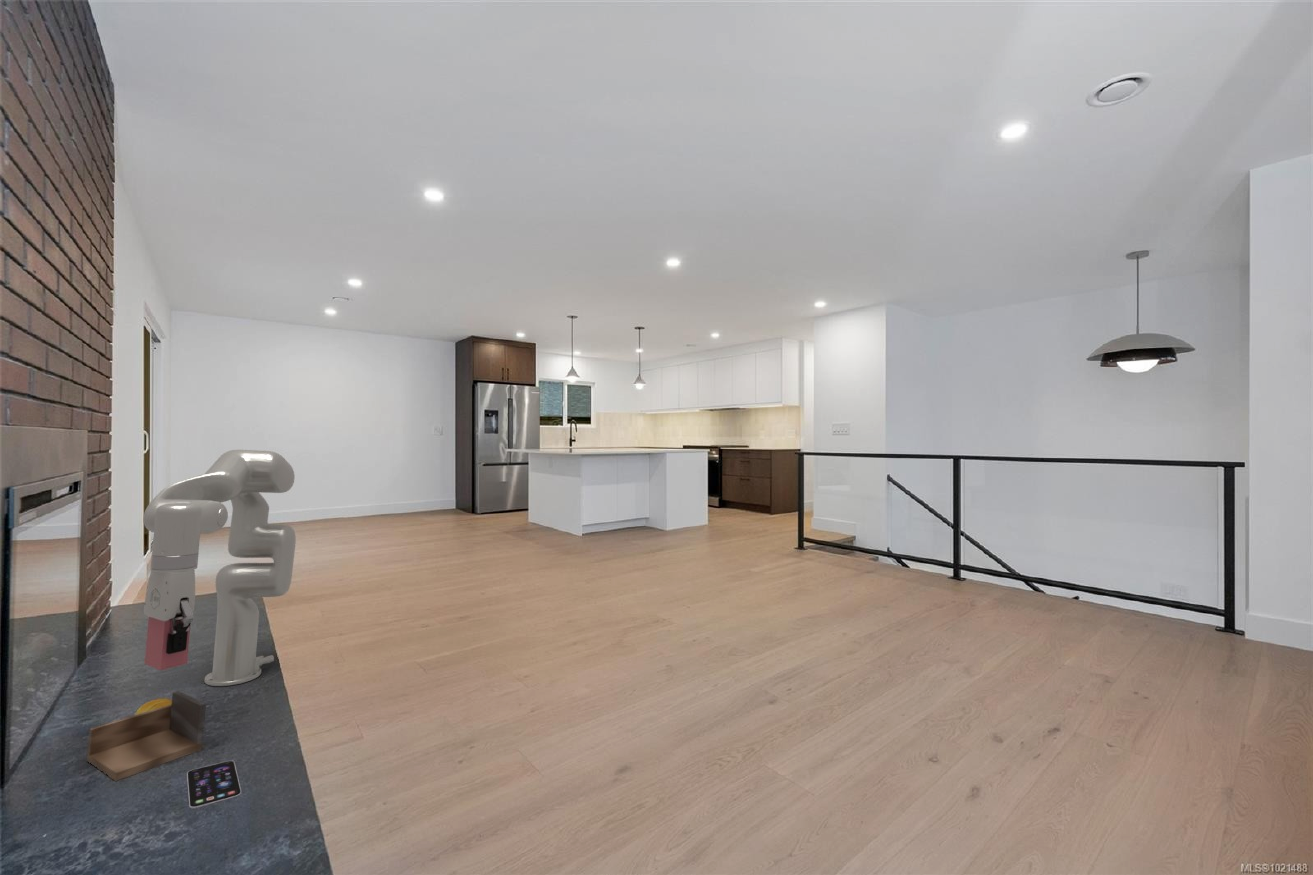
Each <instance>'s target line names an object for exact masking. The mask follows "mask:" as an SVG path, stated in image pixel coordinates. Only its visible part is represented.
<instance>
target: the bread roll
mask: <svg viewBox="0 0 1313 875" xmlns="http://www.w3.org/2000/svg"><path fill="white" fill-rule="evenodd" d="M171 704H172V699H169V698H165V697H163V698H156V699H153V700H150V701H147V702H145V703H144V704H142V705H141V706H140V707H139V708H138V709H137V710H136V712H135V713H134V715H137V714H141V713H144V712H148V711H151V710H154V709H158V708H161V707H164V706H168V705H171Z"/></svg>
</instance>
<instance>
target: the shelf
mask: <svg viewBox="0 0 1313 875" xmlns="http://www.w3.org/2000/svg"><path fill="white" fill-rule="evenodd" d="M171 700H172V704H171V705H168V706H164V707H161V708H158V709H154V710H151V711H148V712H144V713H141V714H137V715H135V714H134V715H131V716H128V717H125V718H120V719H117V720H114V721H111V722H108V723H104V724H100V725H97V726H93V727H90V728H89V733H88V734H89V736H88V743H87V744H88V746H87V755H86V762H87V761H88V762H89V763H88V762H87V763H88V764H90V763H91V764H93V765H95V767H97V768H98V769H100V770H101V771H103V772H104V773H103V772H102V773H103V774H104V775H106V774H107V775H108V776H107V775H106V776H107V777H109V778H110V779H112V780H113V781H115V782H118V781H120V780H123V779H126V778H128V777H131V776H134V775H136V774H140V773H142V772H145V771H147V770H150V769H153V768H155V767H158V766H160V765H164V764H166V763H169V762H172V761H175V760H176V759H180V758H182V757H185V756H188V755H190V754H194V753H196V752H199V751H201V750H203V743H204V731H205V720H206V709H207V703H205V702H203V701H200V700H199V699H196V698H194V697H192V696H190V695H188V694H186V693H184V692H181V691H179V690H175V691H172V693H171ZM91 764H90V765H91ZM95 767H94V768H95ZM97 768H96V769H97ZM98 769H97V770H98ZM100 770H99V771H100ZM101 771H100V772H101Z"/></svg>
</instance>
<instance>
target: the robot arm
mask: <svg viewBox="0 0 1313 875" xmlns="http://www.w3.org/2000/svg"><path fill="white" fill-rule="evenodd" d="M295 476H296V475H295V472H294V468H293V466H292V465H291V464H290V463H289V462H288V460H286V458H285V457H284V456H283V455H280V454H279V453H278V452H276V451H271V450H256V449H253V450H252V449H232V450H228V451H226V452H224V453H223V454H221V455H220V456H219V457H218V458H217V460H215V461H214V463H213V464H212V465H211V466H210V467H209V469H207V470H206V472H204V473H203V474H200V475H196V476H193V477H190V478H187V479H185V480H181V481H178V482H175V483H172V484H171V485H169V486H167V487H164V488H163V489H162V490H160V492H159V493H158V494H156V495H155V497H154V498H153V499H152V500H151V501H150V503H149V504H148V505H147V507H146V508H145V511H144V513H143V519H142V520H143V521H142V522H143V524H144V527H145V529H147V530H148V531H149V532H151V533H153V535H152V536H153V537H152V538H153V539H152V549H151V559H150V562H151V563H150V567H149V568H150V570H149V571H150V574H149V577H148V582H147V586H146V592H145V598H144V603H143V604H144V605H143V613H144V615H145V616H147V617H148V618H149V617H151V618H154V619H157V620H160V621H169V620H170V633H171V634H168V638H167V649H166V653H167V654H172V653H176V652H180V651H184V650H186V646H187V634H188V631H189V626H190V627H191V623H192V622H193V620H194V618H195V616H194V609H195V602H196V599H195V598H196V572H195V571H196V569H198V565H199V564H198V563H199V550H200V539H201V537H200V536H201V535H203V534H204V535H206V534H207V535H208V534H213V533H217V532H218V531H220V530H221V529H222V528H223V527H224V526H225V525H226V523H227V521H228V517H229V513H228V509H227V507H226V506H225V504H223V503H224V502H229V501H230V502H231V505H232V511H231V513H232V514H231V522H230V528H229V537H228V542H227V550H228V553H229V555H230V556H232V557H234V558H242V559H254V558H255V559H272V560H273V562H237V563H229V564H227V565H225V566H223V567H222V568H220V569H219V570H218V572H217V573H216V577H215V582H214V583H215V592H216V599H217V601H216V602H217V607H216V608H217V612H216V625H215V626H216V627H215V637H214V648H213V649H214V650H213V660H212V661H213V662H212V669H211V670H212V671H211V672H210V673H207V675H205V676H204V683H205V684H206V685H208V686H212V687H226V686H234V685H240V684H244V683H247V682H251V681H253V680H255V679H256V678H258V677H259V676H260V675H261V674H262V668H261V667H262V666H263V665H265V664H270V663H272V662H274V661H275V657H274V655H273V654H271V655H267V656H264V655H259V656H256V655H257V647H258V646H257V645H258V635H259V634H258V632H259V623H260V622H259V620H260V611H259V608H258V605H257V603H255V601H254V600H253V599H254V598H276V597H281V596H284V595H286V594H287V592H289V589H290V588H291V583H292V577H293V570H294V569H293V568H294V561H295V560H294V559H295V553H296V552H295V551H296V544H297V542H296V541H297V540H296V539H297V538H296V532H295V528H293V527H292V526H290V525H288V524H280V523H279V524H277V523H276V524H275V523H273V524H272V523H270V524H269V521H268V520H269V512H270V506H269V504H268V502H267V500H266V499H265V498H264V496H263V495H262V494H261V493H265V494H267V493H271V494H272V493H273V494H282V493H286V492H288V491H290V490H291V489H292V487H293V486H294V483H295ZM180 614H182V617H176V618H174V617H175V615H180ZM179 620H182V621H181V622H179V623H178V624H177V625H176V624H175V621H179Z"/></svg>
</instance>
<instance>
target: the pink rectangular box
mask: <svg viewBox="0 0 1313 875" xmlns="http://www.w3.org/2000/svg"><path fill="white" fill-rule="evenodd" d="M176 617H182V614H180V615H175V617H174V618H176ZM181 621H182V620H179V621H175V624H176V625H177V624H178V623H179V622H181ZM190 631H191V625H190V626H189V631H188V634H187V646H186V650H184V651H180V652H176V653H172V654H167V653H166V649H167V638H168V634H171V633H170V620H169V621H160V620H157V619H154V618H151V617H148V622H147V632H146V642H145V643H146V645H145V655H144V665H146V666H148V667H151V668H154V669H157V670H158V671H164V670H167V669H173V668H175V667H178V666H183V665H187V664H188V657H189V644H190V635H191V634H190V633H191V632H190Z"/></svg>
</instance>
